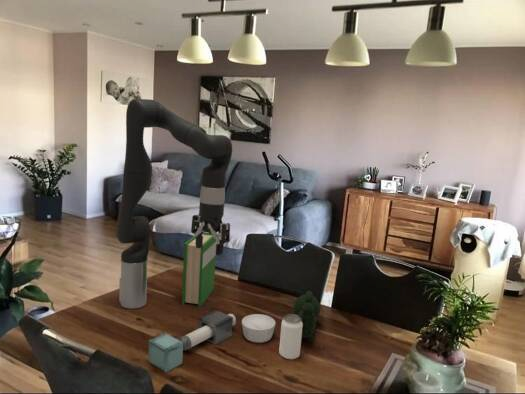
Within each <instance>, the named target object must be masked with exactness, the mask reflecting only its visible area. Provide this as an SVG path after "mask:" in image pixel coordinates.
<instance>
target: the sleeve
mask: <svg viewBox="0 0 525 394" xmlns="http://www.w3.org/2000/svg"><path fill="white" fill-rule="evenodd" d="M205 325H209V326H212V327H213V336H212V337H210V338H208V339H206V340H205V341H206V342H209V343H211V344H212V345H215V346H216V345H218V344H220V343H221V342H223V341H225V340H227V339H228V338H230V337H232V336H233V326H234V325H233V317H231V316H229V315H228V314H226V313H224V312H222V311H219V310H217V309H215V310H213V311H210V312H208V313H207V314H204V315H202V316H200V317H199V318H198V329H199V328H201V327H203V326H205Z"/></svg>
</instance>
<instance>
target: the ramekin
mask: <svg viewBox="0 0 525 394" xmlns="http://www.w3.org/2000/svg"><path fill="white" fill-rule="evenodd" d="M241 326H242V334H243V336H244V338H245V339H246V340H247V341H249V342H252V343H255V344H257V343H259V344H261V343H265V342H269V340H271V338H273V335H274V331H275V328H276V321H275V319H274V318H273V317H271V316H270V315H266V314H260V313H255V314H254V313H253V314H249V315H246V316H244V317H243V318H242V320H241Z"/></svg>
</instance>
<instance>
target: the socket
mask: <svg viewBox="0 0 525 394" xmlns="http://www.w3.org/2000/svg"><path fill="white" fill-rule="evenodd" d="M147 351H148V353H147V355H148V356H147V361H148V363H150V364H152V365H154V366H156V367H157V368H158V369H160V370H162V371H163V372H165V373H168V372H169V371H171V370H173V369H174V368H176V367H178V366H180V365H181V364H183V355H184V353H183V351H184V350H183V342H181V341H179V339H177V338H175V337H173V336H172V335H170V334H167V333H166V332H165V333H161V334H160V335H158V336H156V337H153V338H151V339H149V340H148V350H147Z"/></svg>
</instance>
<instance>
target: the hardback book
mask: <svg viewBox="0 0 525 394" xmlns="http://www.w3.org/2000/svg"><path fill="white" fill-rule="evenodd" d="M202 236H203V245H202V247H201V248H196V244H195V243H196V236H195V235H193V236H192V237H191V238H189V239H188V240H187V241H185V242H184V244H183V245H184V246H183V262H182V263H183V264H182V290H181V292H182V293H181V305H185V304H186V303H188V304H194V305H195V304H196V305H197V307H198V308H201V307H202V306H203V304H204V303H205V301H206V300H207V299H208V297H209V296H210V295H211V294H212V292H213V291H214V289H215V288H214V287H215V275H216V274H215V273H216V271H215V270H216V256H217V255H216V244H217V242H216V239H215V238H214V237H213V235H212V234H209V233H208V232H205V233H204V234H203V235H202Z"/></svg>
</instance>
